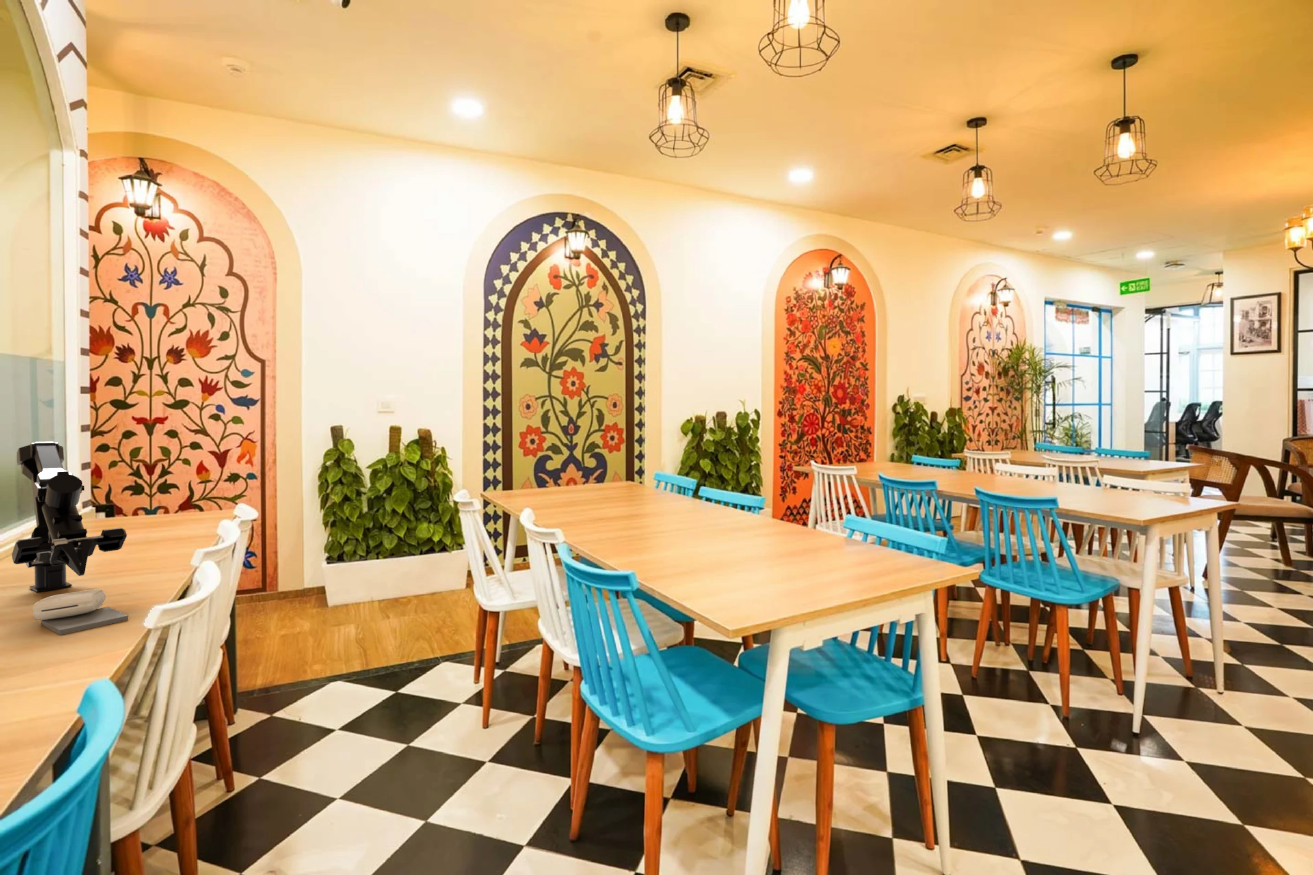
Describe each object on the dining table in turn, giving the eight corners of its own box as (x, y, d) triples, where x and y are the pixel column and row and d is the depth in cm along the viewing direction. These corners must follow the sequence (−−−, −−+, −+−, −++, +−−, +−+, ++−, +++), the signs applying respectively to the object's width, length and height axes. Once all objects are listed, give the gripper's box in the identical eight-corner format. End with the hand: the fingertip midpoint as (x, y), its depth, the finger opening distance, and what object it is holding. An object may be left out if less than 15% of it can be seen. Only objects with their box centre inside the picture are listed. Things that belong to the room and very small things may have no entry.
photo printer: (105, 586, 144) (93, 592, 133) (107, 605, 143) (95, 613, 133) (44, 595, 138) (27, 602, 128) (45, 614, 138) (28, 623, 127)
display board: (41, 624, 131) (41, 619, 131) (108, 610, 141) (108, 606, 141) (59, 634, 125) (59, 630, 125) (128, 620, 135) (128, 615, 135)
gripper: (105, 535, 157) (124, 586, 151) (0, 548, 141) (16, 605, 136) (117, 507, 152) (137, 558, 147) (10, 517, 136) (27, 575, 131)
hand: (81, 574), depth 140 cm, fingers closed
